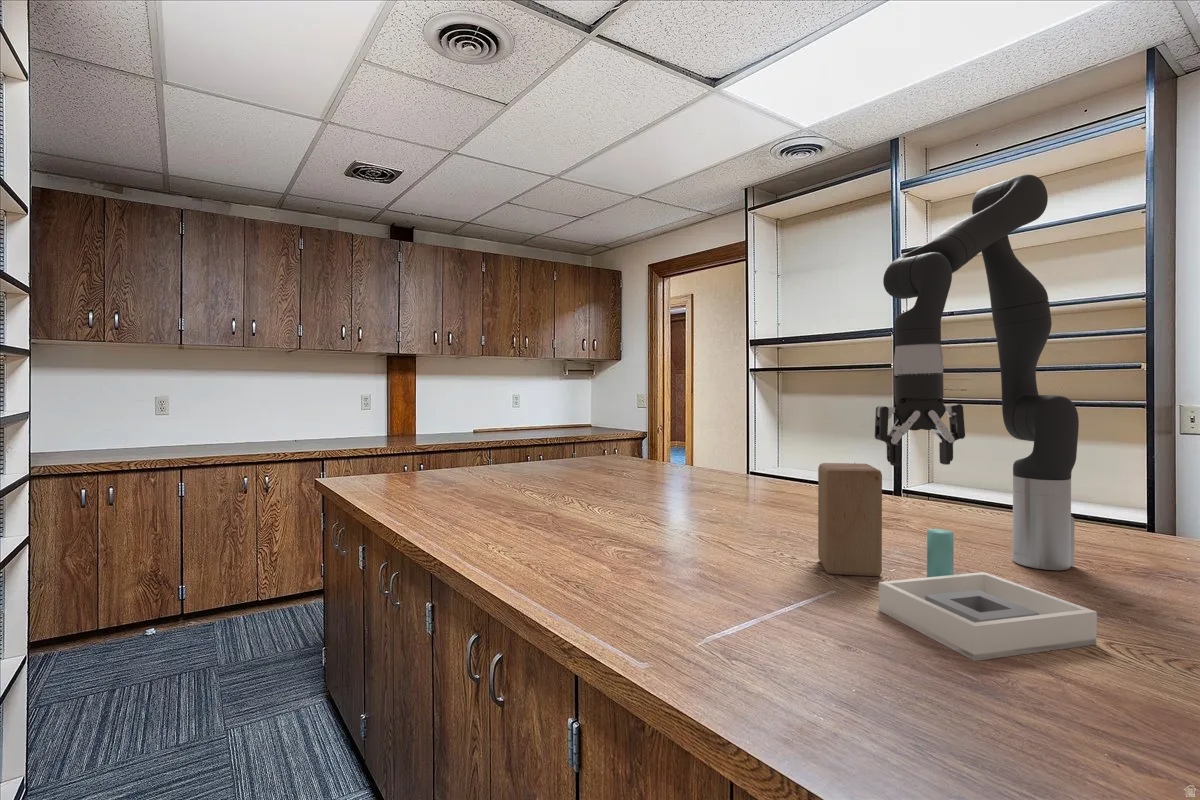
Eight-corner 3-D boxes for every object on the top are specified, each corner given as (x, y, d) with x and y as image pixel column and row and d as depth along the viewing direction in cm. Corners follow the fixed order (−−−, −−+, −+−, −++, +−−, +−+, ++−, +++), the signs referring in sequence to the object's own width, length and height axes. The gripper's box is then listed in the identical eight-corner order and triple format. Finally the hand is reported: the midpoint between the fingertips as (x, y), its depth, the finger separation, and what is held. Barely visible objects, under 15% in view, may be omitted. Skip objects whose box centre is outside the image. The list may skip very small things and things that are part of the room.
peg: (940, 584, 107) (940, 528, 106) (958, 591, 103) (959, 533, 102) (921, 586, 106) (921, 529, 105) (939, 593, 102) (939, 535, 102)
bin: (983, 599, 99) (983, 572, 99) (1096, 644, 82) (1096, 611, 81) (878, 610, 94) (878, 582, 94) (974, 661, 77) (974, 626, 77)
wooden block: (883, 578, 110) (883, 469, 110) (825, 575, 112) (825, 468, 112) (870, 562, 120) (870, 463, 119) (817, 560, 122) (817, 462, 121)
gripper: (948, 370, 107) (950, 461, 108) (867, 373, 108) (869, 462, 108) (972, 369, 100) (974, 466, 100) (885, 372, 100) (887, 468, 101)
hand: (919, 464), depth 104 cm, fingers open, 8 cm apart
